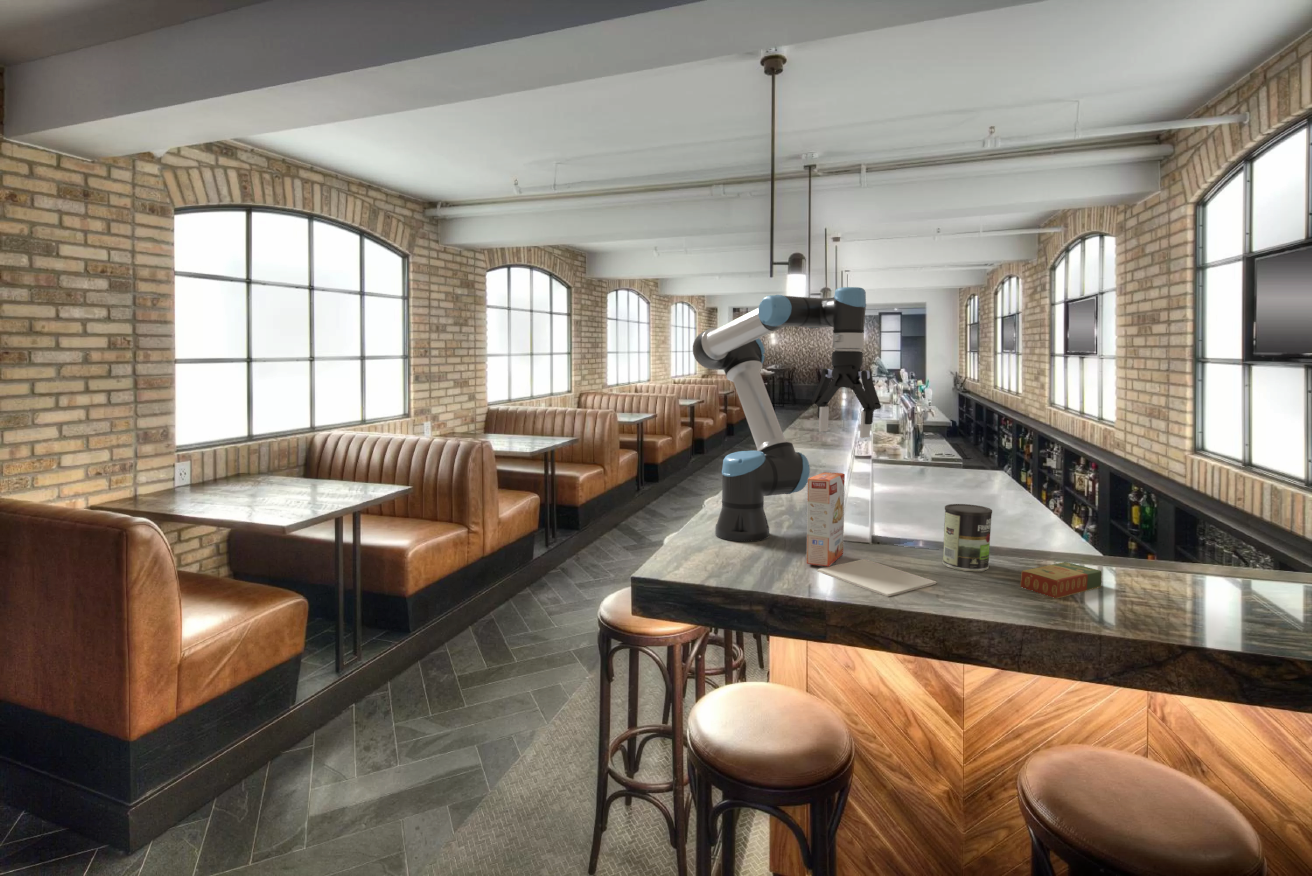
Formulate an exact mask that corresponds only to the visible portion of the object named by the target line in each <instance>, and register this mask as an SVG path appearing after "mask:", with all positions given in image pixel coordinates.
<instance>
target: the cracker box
mask: <svg viewBox="0 0 1312 876" xmlns="http://www.w3.org/2000/svg"><path fill="white" fill-rule="evenodd" d="M845 479H846V478H845V473H844V472H843V473H842V472H821V473H819V474H816V475H814V476H811V477H809V478H808V482H807V488H806V489H807V491H806V492H807V493H806V494H807V495H806V497H807V498H806V500H807V501H806V502H807V505H806V508H807V509H806V510H807V511H806V512H807V513H806V565H813V566H820V567H830V566H832V564H834V563H835V562H836V561H837V560H838V559H839V558H840V557H841V556H843V555H844V538H845V537H844V533H845V532H844V529H845V523H844V522H845V482H846V481H845Z"/></svg>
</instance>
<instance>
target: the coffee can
mask: <svg viewBox="0 0 1312 876" xmlns="http://www.w3.org/2000/svg"><path fill="white" fill-rule="evenodd" d="M992 515H993V509H991V508H989V507H986V506H982V505H976V504H966V503H951V504H946V505H944V525H943V526H944V527H943V544H942V545H943V547H942V549H943V551H942V565H943V566H945V567H948V568H949V569H953V570H957V571H964V572H971V573H972V572H977V573H979V572H985V570H986V571H987V569H988V570H989V568H990V567H989V562H990V561H989V560H990V546H991V545H990V542H991V531H992V529H991V528H992Z"/></svg>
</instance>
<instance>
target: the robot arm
mask: <svg viewBox="0 0 1312 876" xmlns="http://www.w3.org/2000/svg"><path fill="white" fill-rule="evenodd" d="M866 298H867V297H866V289H864V288H862V287H857V286H853V287H852V286H846V287H845V286H843V287H837V288H836V289H835V292H834V295H833V297H823V298H822V297H807V296H806V297H805V296H794V295H793V296H791V295H783V294H773V295H767V296H765V297H763V298H762V301H760V302H759V305H758V307H757V308H754V309H753V310H751V311H749V312H747V313H745V314H743V315H741V316H739V317H737V318H735V319H733V320H731V321H729V322H727V323H725V324H724V325H721V326H719V327H718V328H717V327H710V328H708V329H706V330H704V331H702V332H701V333H699V334H698V335H697V336H696V337H695V339H694V340H693V343H692V355H693V357H694V360H696V362H697V363H698V364H699V365H700V366H701V367H703V368H706V369H708V370H717V371H718V370H723V372H724V374H725V376H726V377H725V378H726V379H727V381H730V382H732V383H733V384H734V387H735V391H736V393H737V396H738V398H739V402H740V404H741V407H742V410H743V413H744V415H745V418H746V422H747V424H748V428H749V429H750V432H751V436H752V438H753V441H754V443H755V446H756V450H741V451H735V452H732V453H729V454H727V455H725V457H724V458H723V460H722V469H721V476H722V477H721V479H722V480H721V481H722V485H721V489H722V491H721V509H720V513H719V516H718V519H717V523H716V524H715V531H714V532H715V533H714V534H715V536H716V537H718V538H721V539H722V540H728V541H734V542H757V541H764V540H767V539H768V538H770V526H769V524H768V519H767V516H766V513H765V508H764V507H765V505H764V504H765V503H764V501H765V499H764V498H765V497H770V496H777V495H778V496H779V495H790V494H792V493H793V494H794V493H799V492H800V491H802V490H804V488H805V487H806V485H808V478H810V476H811V475H810V472H811V468H810V462H809V460H808V458H807V456H806V455H805V454H803V453H802V452H800V451H799V452H798V451H796V450H795V447H794V445H793V442H791V441H789V440H786V439H785V436H784V434H783V430H782V428H781V425H780V422H779V420H778V417H777V415H776V412H775V410H774V407H773V404H772V401H771V398H770V396H769V393H768V391H767V387H766V385H765V383H764V379H763V377H762V375H761V372H762V370H763V364H764V362H765V351H766V350H765V347H764V343H763V342H762V340H761V338H763V337H764V336H767V335H770V334H772V333H773V332H776V331H778V330H781V329H783V328H784V327H798V328H799V327H802V328H809V329H819V328H832V349H833V350H834V351H832V352H831V366H832V368H823V369H822V373H821V374H822V375H821V378H820V381H819V383H818V386H817V388H816V390H815V392H814V394H813V398H812V399H811V403H812V404H815V405H816V406H817V419H818V432H820V433H822V432H824V433H826V432H829V416H830V414H829V413H830V412H829V411H830V406H829V402H830V401H831V399H832V398H833V397H834V395H835V394H836V393H837V391H838V390H839V389H842V388H846V389H850V390H852V392H853V393H854V395H855V396H856V398H857V400H858V402H859V403H860V405H861V407H862V409H863V410H862V411H860V412H861V413H860V429H859V430H860V431H859V438H860V439H863V438H864V439H865V438H870V436H871V435H870V434H871V425H872V424H873V421H874V412H875V411H876V410H879V409H881V408H882V405H881V402H880V399H879V397H878V393H877V391H876V388H875V384H874V382H873V374H872V371H871V370H867V369H865V370H861V367H862V366H863V363H864V362H863V361H864V358H863V357H864V352H863V351H862V350H863V349H864V348H865V347H864V343H865V319H866V308H867V301H866V300H867V299H866ZM832 378H833V379H832ZM860 379H861V380H860Z"/></svg>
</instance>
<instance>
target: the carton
mask: <svg viewBox="0 0 1312 876" xmlns="http://www.w3.org/2000/svg"><path fill="white" fill-rule="evenodd" d="M1102 575H1103V572H1102V570H1099V569H1095V568H1092V567H1088V566H1085V565H1084V566H1083V565H1080V564H1076V563H1073V562H1072V563H1071V562H1068V561H1064V562H1058V563H1053V564H1049V565H1048V564H1047V565H1045V566H1039V567H1035V568H1029V569H1024V570H1021V575H1020V584H1019V585H1020V586H1019V588H1021V587H1023V588H1022V589H1024V588H1026V589H1025V590H1028V591H1031V590H1033V591H1032V592H1034V591H1035V593H1037V592H1038V593H1037V594H1040V593H1041V595H1043V594H1045V595H1044V596H1047V595H1048V596H1047V597H1049V598H1053V597H1054V598H1053V599H1060V598H1061V599H1062V598H1064V597H1069V596H1074V595H1077V594H1080V593H1085V592H1088V591H1091V590H1092V591H1093V590H1096V589H1100V588H1102Z"/></svg>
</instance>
